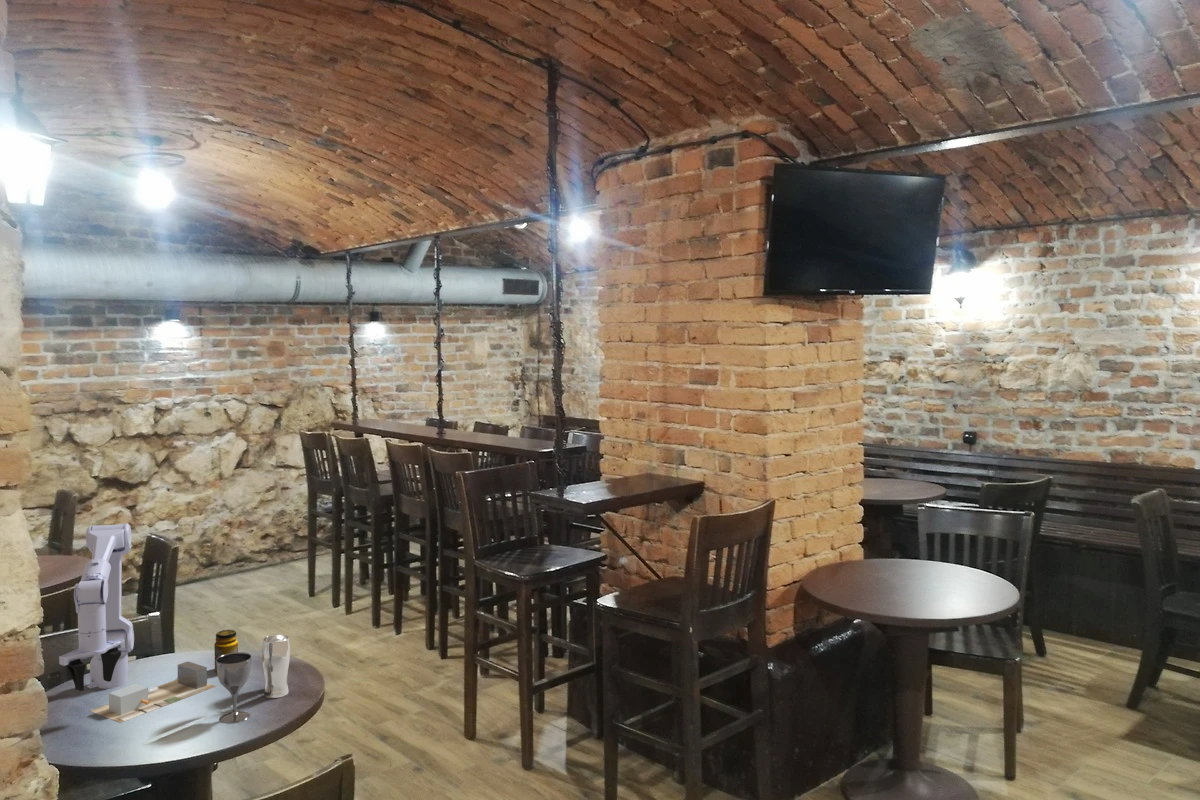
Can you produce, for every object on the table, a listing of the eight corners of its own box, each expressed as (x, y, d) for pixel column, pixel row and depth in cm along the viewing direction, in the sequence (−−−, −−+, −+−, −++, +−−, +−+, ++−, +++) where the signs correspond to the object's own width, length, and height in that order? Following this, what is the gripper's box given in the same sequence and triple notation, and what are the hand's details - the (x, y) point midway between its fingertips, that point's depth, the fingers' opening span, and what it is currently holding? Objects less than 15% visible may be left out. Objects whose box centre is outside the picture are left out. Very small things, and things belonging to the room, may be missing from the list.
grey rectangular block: (177, 683, 232) (177, 664, 232) (188, 679, 235) (187, 661, 235) (196, 689, 228) (196, 670, 228) (206, 685, 231) (206, 667, 231)
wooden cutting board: (89, 715, 215) (89, 709, 214) (185, 680, 237) (185, 675, 237) (120, 727, 208) (120, 721, 208) (216, 690, 231) (216, 685, 230)
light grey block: (109, 710, 215) (108, 692, 214) (151, 695, 224) (150, 678, 224) (126, 717, 211) (126, 699, 211) (168, 701, 220) (168, 684, 220)
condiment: (243, 674, 242) (243, 632, 241) (212, 682, 236) (211, 639, 235) (233, 667, 247) (232, 626, 246) (202, 675, 241) (201, 633, 240)
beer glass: (281, 700, 225) (280, 643, 224) (256, 697, 226) (256, 641, 225) (295, 689, 232) (295, 634, 231) (272, 687, 233) (271, 632, 232)
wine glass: (248, 723, 211) (247, 663, 210) (213, 725, 210) (212, 664, 209) (255, 709, 219) (254, 651, 218) (222, 711, 218) (221, 652, 217)
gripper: (70, 641, 199) (72, 699, 200) (131, 624, 212) (132, 678, 213) (53, 636, 203) (55, 692, 204) (114, 619, 215) (115, 672, 216)
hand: (93, 685), depth 208 cm, fingers open, 6 cm apart
